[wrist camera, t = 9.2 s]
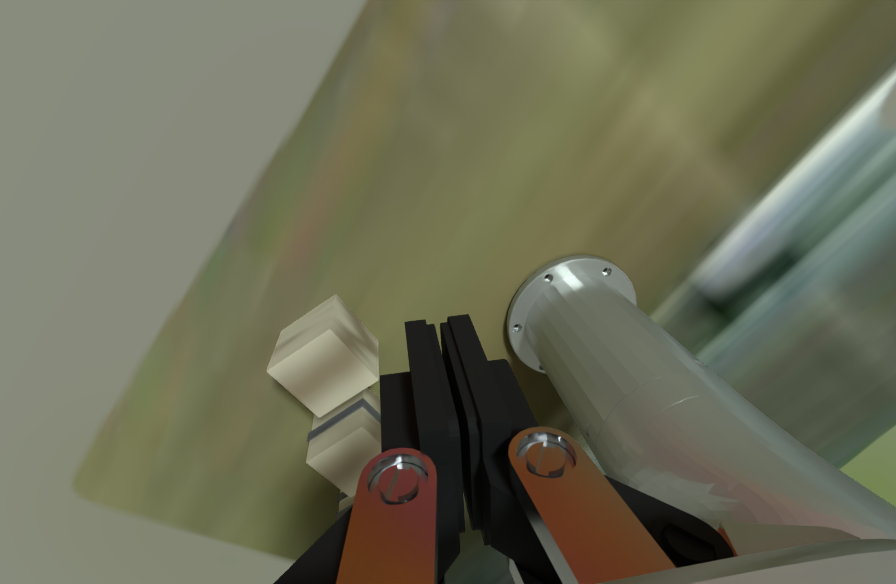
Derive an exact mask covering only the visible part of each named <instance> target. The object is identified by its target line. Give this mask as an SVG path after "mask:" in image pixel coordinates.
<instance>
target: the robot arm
mask: <svg viewBox="0 0 896 584" xmlns="http://www.w3.org/2000/svg"><path fill="white" fill-rule="evenodd" d="M546 275H547V276H546ZM405 330H406V339H407V349H408V358H409V367H410V372H403V373H395V374H388V375H380V411H381V453H380V454H378V455H377V456H376V457H374V458H373V459H371V460H370V461H369V462H368V463H367V465H366V466H365V467H364V468H363V470H362V472H361V475H360V477H359V480H358V485H357V490H356V494H355V499H354V503H353V506H352V507H351V508H350V509H349V510H348V511H347V512H346V513H345V514H344V515H343V516H342V517H341V518H340V519H339V520H338V521H337V522H336V523H335V524H334V525H332V526H331V527H330V528H329V529H328V530H327V531H326V532H325V533H324V534H323V535H322V536H321V537H320V538H319V539H318V540H317V541H316V542H315V543H314V544H313V545H312V546H311V547H310V548H309V549H308V550H307V551H306V552H305V553H304V554H303V555H302V556H301V557H300V558H299V559H298V560H297V561H296V562H295V563H294V564H293V565H292V566H291V567H290V568H289V569H288V570H287V571H286V572H285V573H284V574H283V575H282V576H281V577H280V578H279V579H278V580H277V581H276V582H275V583H274V584H446V575H445V573H446V572H447V570H448V569H449V567H450V566H451V564H452V563H453V562H454V560H455V559H456V557H457V556H458V555H459V553H460V539H459V533H463V532H465V520H464V501H463V492H464V496H465V501H466V505H467V510H468V515H469V519H470V524H471V528H472V530H473V531H474V530H480V529H481V532H482V536H483V540H484V545H490V544H491V547H493V548H494V549H496V550H498V551H499V552H501V553H502V554H504V555H505V556H507V563H508V566H509V570H510V572H511V574H512V577H513V579H514V581H515V584H896V507H895V506H894V505H892V504H890V503H889V502H887V501H886V500H884V499H883V498H881V497H880V496H878V495H877V494H875V493H874V492H872V491H871V490H869V489H868V488H866V487H864V486H863V485H861V484H860V483H858V482H857V481H855V480H854V479H852V478H851V477H849V476H848V475H846V474H845V473H843V472H842V471H840V470H839V469H837V468H836V467H834V466H833V465H831V464H830V463H828V462H827V461H825V460H824V459H823V458H821V457H820V456H818V455H817V454H815V453H814V452H813V451H811V450H810V449H808V448H807V447H805V446H804V445H803V444H801V443H800V442H799V441H797V440H796V439H795V438H793V437H792V436H791V435H789V434H788V433H787V432H786V431H784V430H783V429H782V428H781V427H779V426H778V425H777V424H776V423H774V422H773V421H772V420H771V419H769V418H768V417H767V416H766V415H764V414H763V413H762V412H761V411H759V410H758V409H757V408H756V407H754V406H753V405H752V404H751V403H750V402H748V401H747V400H746V399H745V398H744V397H742V396H741V395H740V394H739V393H738V392H736V391H735V390H734V389H733V388H732V387H731V386H729V385H728V384H727V383H726V382H725V381H723V380H722V379H721V378H720V377H719V376H717V375H716V374H715V373H714V372H713V371H711V370H710V369H709V368H708V367H707V366H706V365H704V364H703V363H702V362H701V361H700V360H699V359H697V358H696V357H695V356H694V355H693V354H692V353H690V352H689V351H688V350H687V349H686V348H685V347H683V346H682V345H681V344H680V343H679V342H678V341H676V340H675V339H674V338H673V337H672V336H671V335H669V334H668V333H667V332H666V331H665V330H664V329H662V328H661V327H660V326H659V325H658V324H657V323H655V322H654V321H653V320H652V319H651V318H649V317H648V316H647V315H646V314H645V313H644V312H642V311H641V310H640V309H639V308H638V307H637V302H636V293H635V290H634V287H633V285H632V283H631V281H630V280H629V278H628V277H627V275H626V274H625V273H624V272H623V271H621V270H620V269H619V268H618V267H617V266H615V265H614V264H612V263H611V262H609V261H607V260H604V259H602V258H600V257H594V256H589V255H575V256H570V257H565V258H561V259H559V260H556V261H554V262H551V263H549V264H547V265H546V266H544V267H542V268H540V269H539V270H537V271H536V272H535V273H534V274H533V275H531V276H530V277H529V278H528V279H527V280H526V281H525V282H524V283H523V285H522V286H521V287H520V288H519V290H518V291H517V293H516V295H515V296H514V298H513V300H512V302H511V305H510V308H509V310H508V316H507V334H508V338H509V342H510V344H511V346H512V348H513V350H514V352H515V353H516V355H517V356H518V358H519V359H520V360H521V361H522V362H523V363H524V364H525V365H527V366H528V367H530V368H532V369H533V370H535V371H537V372H541V373H544V374H547V376H548V378H549V379H550V381H551V383H552V384H553V386H554V388H555V389H556V391H557V393H558V395H559V396H560V398H561V400H562V401H563V403H564V405H565V406H566V408H567V410H568V411H569V413H570V415H571V417H572V418H573V420H574V422H575V423H576V425H577V427H578V428H579V430H580V432H581V434H582V435H583V437H584V439H585V440H586V442H587V444H588V445H589V447H590V449H591V450H592V452H593V454H594V456H595V457H596V459H597V461H598V462H599V464H600V466H601V467H602V469H603V471H604V472H605V474H606V475H603V474H602V472H601V471H600V470H599V469H598V467H597V466H596V465H595V463H594V462H593V461H592V460H591V458H590V457H589V456H588V454H587V453H586V452H585V451H584V449H583V448H582V447H581V446H580V444H579V443H578V442H577V441H576V440H575V439H574V438H573V437H572V436H570V435H568V434H566V433H565V432H563V431H561V430H557V429H554V428H551V427H539V426H538V424H537V422H536V420H535V418H534V416H533V414H532V412H531V410H530V407H529V405H528V403H527V401H526V399H525V397H524V395H523V393H522V391H521V389H520V386H519V384H518V382H517V380H516V378H515V376H514V374H513V372H512V370H511V368H510V366H509V363H508V362H507V360H505V359H500V360H492V361H487V358H486V356H485V353H484V351H483V348H482V346H481V343H480V341H479V339H478V336H477V334H476V331H475V329H474V326H473V324H472V321H471V319H470V316H469V315H468V314H466V315H458V316H450V317H448V318H447V322H445V323H440V332H441V346H442V354H441V350H440V345H439V341H438V337H437V333H436V329H435V325H434V324H429V325H426V320H416V321H408V322H405Z"/></svg>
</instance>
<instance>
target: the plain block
mask: <svg viewBox="0 0 896 584" xmlns="http://www.w3.org/2000/svg"><path fill="white" fill-rule="evenodd" d="M267 372H268V373H269V374H270V375H271V376H272V377H274V378H275V379H276V380H277V381H278V382H279V383H280V384H281V385H283V386H284V387H285V388H286V389H287V390H288V391H289V392H290V393H292V394H293V395H294V396H295V397H296V398H297V399H298V400H299V401H301V402H302V403H303V404H304V405H305V406H306V407H307V408H308V409H310V410H311V411H312V412H313V413H314V414H315V415H316V416H317V417H319V418H320V417H322V416H323V415H325V414H326V413H328V412H329V411H331V410H333V409H334V408H336V407H337V406H339V405H340V404H342V403H344V402H345V401H347V400H348V399H350V398H351V397H353V396H355V395H356V394H358V393H359V392H361V391H362V390H364V389H366V388H367V387H369V386H370V385H372V384H373V383H375V382H377V381H378V380H379V359H378V340H377V339H376V338H375V337H374V335H373V334H372V333H371V332H370V331H369V330H368V329H367V328H366V327H365V325H364V324H363V323H362V322H361V321H360V320H359V319H358V318H357V317H356V315H355V314H354V313H353V312H352V311H351V310H350V309H349V308H348V307H347V305H346V304H345V303H344V302H343V301H342V300H341V299H340V298H339V297H338V296H337V294H335V295H333V296H332V297H330V298H329V299H328V300H326V301H325V302H323V303H322V304H320V305H319V306H317V307H316V308H314V309H313V310H311V311H310V312H308V313H307V314H305V315H304V316H302V317H301V318H299V319H298V320H297V321H295V322H294V323H292V324H291V325H289V326H288V327H286V328H285V329H283V330H282V331H281V333H280V336H279V338H278V341H277V344H276V346H275V349H274V352H273V354H272V357H271V360H270V362H269V365H268V368H267Z"/></svg>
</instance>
